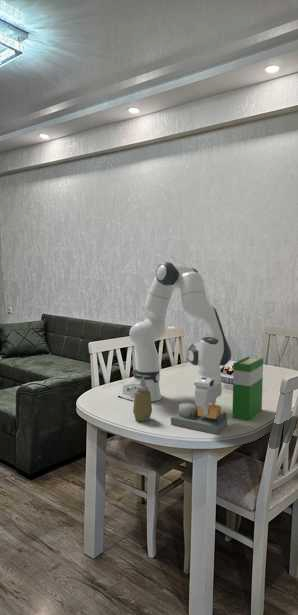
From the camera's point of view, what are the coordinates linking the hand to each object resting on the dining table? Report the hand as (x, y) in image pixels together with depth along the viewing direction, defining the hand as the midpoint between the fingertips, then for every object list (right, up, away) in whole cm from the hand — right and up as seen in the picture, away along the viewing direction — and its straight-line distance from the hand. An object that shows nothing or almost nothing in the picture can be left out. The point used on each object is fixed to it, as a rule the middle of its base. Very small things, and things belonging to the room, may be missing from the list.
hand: (208, 411), depth 163 cm
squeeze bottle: (-27, -6, +8) cm, 29 cm away
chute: (0, -2, 0) cm, 2 cm away
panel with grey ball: (-4, -6, +2) cm, 7 cm away
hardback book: (+20, -5, +17) cm, 26 cm away
